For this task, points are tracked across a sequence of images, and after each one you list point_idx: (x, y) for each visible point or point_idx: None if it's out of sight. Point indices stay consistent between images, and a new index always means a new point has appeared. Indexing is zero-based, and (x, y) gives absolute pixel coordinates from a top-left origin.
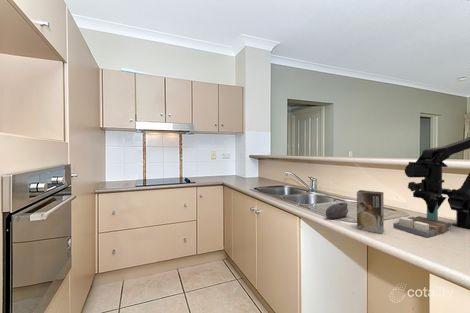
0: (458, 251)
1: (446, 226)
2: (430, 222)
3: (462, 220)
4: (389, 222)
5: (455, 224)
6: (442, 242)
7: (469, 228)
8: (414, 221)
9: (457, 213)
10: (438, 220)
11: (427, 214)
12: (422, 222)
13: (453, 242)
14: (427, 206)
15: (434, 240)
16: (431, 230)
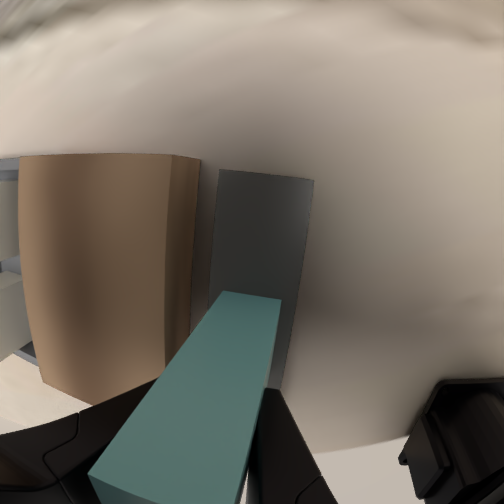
0: (15, 412)
1: None
2: (114, 346)
3: (419, 467)
4: (71, 65)
5: (437, 400)
6: (26, 381)
7: (402, 453)
8: (32, 249)
9: (460, 478)
10: (280, 376)
11: (203, 324)
12: (57, 301)
13: (62, 413)
14: (97, 408)
15: (17, 357)
16: (29, 356)
